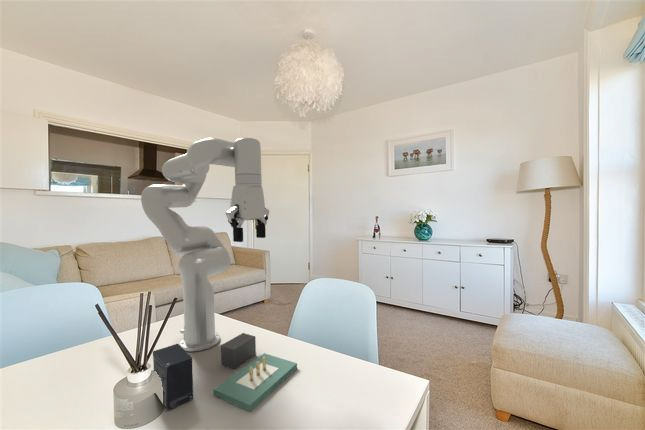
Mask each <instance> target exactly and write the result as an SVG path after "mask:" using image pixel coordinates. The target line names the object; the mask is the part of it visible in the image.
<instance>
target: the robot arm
mask: <svg viewBox="0 0 645 430" xmlns="http://www.w3.org/2000/svg"><path fill="white" fill-rule="evenodd" d="M261 147H262V146H261V143H260V141H259V140H258V139H256V138H253V137H240V138H236V139H235V140H234V141H228V140H224V139H221V138H216V137H207V138H204V139H203V138H202V139H200V140H198V141H195V142H193V143H191V144H190V146H189V147H188V149H187V151H186V153H185V154H182V155H177V156H175V157H173V158H171V159H167V161H165V162H164V163H163V165H162V167H161V173H162V175H163V177H164V178H165V179H166V180H168V181H170V182H173V183H176V184H160V183H159V184H151V185H148V186H146V187H145V188H144V189H143V190H142V192H141V196H140V202H141V206H142V209H143V212H144V214H145V215H146V217H147V218H148V219H149V220H150V222H151V223H153V224H154V226H155V227H156V228H157V229H158V230H159V232H160V234H161V236H162V238H163V239H164V241H165V242H166V243H167V245H168V246H169V248H170V249H171V251H172V252H173V253H174V254H175V255H180V256H181V257H180V258H179V260H178V271H179V276H180V279H181V280H180V281H181V285H182V297H183V298H182V301H183V322H184V323H183V328H181V329H180V331H179V332H180V334H182V335H183V338H182V340H180V342H179V345H180V346H181V347H182V348H183V349H184V350H185V351H186V352H199V351H204V350H208V349H210V348H213V347H214V346H215V345H217V344H218V343H219V342H220V339H221V335H220V334H219V333H218V332H216V325H215V324H216V322H215V321H216V319H215V318H216V317H215V290H214V286H213V285H212V283H211V282H210V280H209V279H208V277H211V276H214V275H219V274H221V273H222V274H223V273H224V272H226V271H227V270H228V269H229V268H230V266H231V263H232V262H231V261H232V260H231V259H232V258H231V256H230V254H229V251H228V249H227V248H226V247H225V245H224V244H223V242H222V241H221V240H220V238H219V237H218V236H217V234H216V232H214V230H213V229H212V228H210V227H208V226H205V225H200V226H199V225H197V226H190V225H188V224H187V223H186V221H184V219H183V217H182V216H181V215H180V214H178V213H177V212H176V211H173V210H172V209H173V208H188V207H190V206H192V205H193V204H194V202H195V201H196V200H197V197H198V196H199V193H200V192H201V189H202V188H203V185H204V183H205V181H206V179H207V174H208V173H209V170H210V165H215V166H224V167H230V168H234V179H235V180H234V182H235V183H234V184H235V185H233V188H232V192H231V201H230V209H228V210H227V211H225V216H226V218H227V222H228V223H229V224H230V228H232V236H233V237H232V238H233V239H232V241H233V242H234V243H236V242H237V243H242V242H244V227H242V226H243V224H244V222H245V221H255V222H256V226H255V228H256V229H255V235H256V238H258V239H264V238H265V239H266V226H267V223H268V222H267V221H269V216H270V210H269V209H268V208H267V207H266V205H265V204H266V203H265V197H264V189H263V186H262V185H263V183H262V181H263V179H262V150H261ZM177 183H178V184H177ZM179 184H182V185H179Z"/></svg>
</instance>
